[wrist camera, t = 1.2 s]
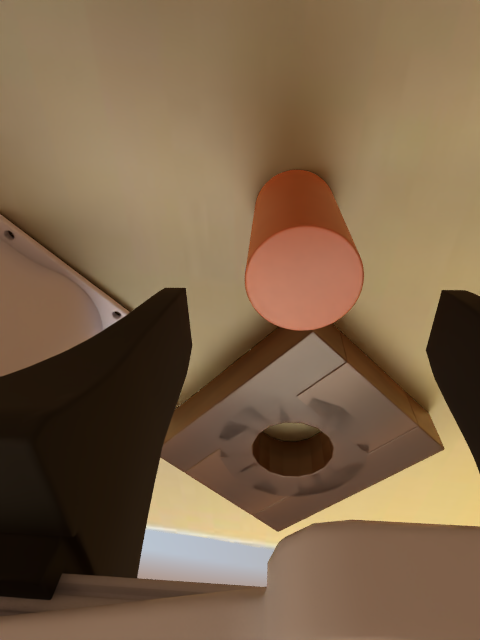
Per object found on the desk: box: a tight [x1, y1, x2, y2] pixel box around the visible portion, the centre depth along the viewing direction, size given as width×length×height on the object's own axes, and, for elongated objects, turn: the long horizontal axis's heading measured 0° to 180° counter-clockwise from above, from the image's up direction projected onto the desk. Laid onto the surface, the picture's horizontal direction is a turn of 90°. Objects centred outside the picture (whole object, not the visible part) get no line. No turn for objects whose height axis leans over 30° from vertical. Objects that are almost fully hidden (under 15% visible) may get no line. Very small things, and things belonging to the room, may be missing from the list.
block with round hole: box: [160, 324, 444, 532], centre depth 27 cm, size 12×14×3 cm
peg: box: [245, 170, 364, 331], centre depth 17 cm, size 4×4×8 cm
